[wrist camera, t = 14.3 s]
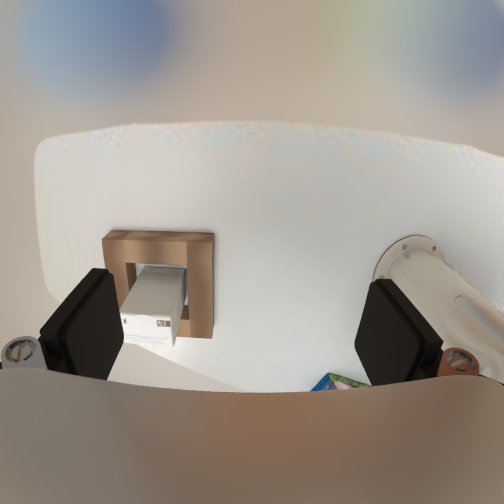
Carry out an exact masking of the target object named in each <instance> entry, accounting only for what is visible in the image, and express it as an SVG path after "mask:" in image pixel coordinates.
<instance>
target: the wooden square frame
mask: <svg viewBox="0 0 504 504" xmlns="http://www.w3.org/2000/svg"><path fill="white" fill-rule="evenodd" d="M102 246H103V254H104V262H105V269H108V270H109V272H110V273H112V274H113V275H114V281H115V287H116V293H117V299H118V305H119V309H120V308H121V306H122V304H123V302H124V301H125V299H126V297H127V295H128V294H129V292H130V290H131V289H132V287H133V285H134V283H135V282H136V280H137V279H136V270H135V263H146V264H167V265H187V280H188V302H189V306H185V305H184V307H183V311H182V315H181V318H180V323H179V327H178V331H177V337H192V338H211V339H212V335H213V326H214V233H193V232H161V231H123V230H111V231H110V232H109V233H108V234H107V235H106V236H105V237H104V238H103V239H102Z"/></svg>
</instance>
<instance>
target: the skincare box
mask: <svg viewBox="0 0 504 504" xmlns="http://www.w3.org/2000/svg"><path fill="white" fill-rule="evenodd" d="M185 299H186V270H185V269H173V268H154V267H144V269H143V270H142V272H141V274H140V275H139V277H138V278H137V280H136V282H135V283H134V285H133V287H132V289H131V290H130V292H129V294H128V295H127V297H126V299H125V301H124V302H123V304H122V306H121V308H120V309H119V311H120V316H121V321H122V326H123V331H124V343H134V344H144V345H156V346H168V347H173V346H174V344H175V340H176V336H177V331H178V327H179V323H180V318H181V315H182V311H183V307H184V303H185Z"/></svg>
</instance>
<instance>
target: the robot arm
mask: <svg viewBox="0 0 504 504" xmlns="http://www.w3.org/2000/svg"><path fill="white" fill-rule="evenodd" d="M40 334H41V336H40V337H39V339H38V340H37V339H36V338H34V337H30V336H22V337H18V338H15V339H13V340H11V341H10V342H8V343H7V344H6V345H5V346H4V348H3V350H2V353H1V360H2V362H0V504H504V314H503V313H502V312H501V311H500V310H499V309H497V308H496V307H495V306H494V305H493V304H492V303H491V302H490V301H489V300H487V299H486V298H485V297H484V296H483V295H482V294H481V293H480V292H478V291H477V290H476V289H475V288H474V287H473V286H472V285H470V284H469V283H468V282H467V281H466V280H464V279H463V278H462V277H461V273H460V271H454V270H452V269H451V268H450V267H449V266H447V265H446V264H445V263H444V257H443V254H442V251H441V249H440V248H439V246H438V245H437V244H436V243H435V242H433V241H432V240H430V239H429V238H426V237H423V236H410V237H407V238H404V239H402V240H400V241H398V242H397V243H395V244H394V245H393V246H392V247H390V248H389V249H388V250H387V251H386V253H385V254H384V255H383V257H382V258H381V260H380V261H379V263H378V265H377V267H376V270H375V274H374V280H373V282H372V283H371V284H370V287H369V291H368V295H367V299H366V302H365V306H364V310H363V314H362V317H361V321H360V325H359V328H358V332H357V335H356V338H355V350H356V352H357V354H358V356H359V358H360V361H361V363H362V365H363V367H364V369H365V372H366V374H367V376H368V378H369V380H370V383H371V385H372V386H371V387H362V388H352V389H340V390H327V391H311V392H283V393H239V392H211V391H193V390H181V389H170V388H160V387H150V386H142V385H134V384H127V383H120V382H113V381H107V378H108V376H109V373H110V371H111V369H112V367H113V364H114V362H115V360H116V358H117V355H118V353H119V351H120V349H121V347H122V344H123V342H124V331H123V326H122V321H121V316H120V311H119V305H118V299H117V293H116V287H115V281H114V275H113V274H112V273H110V272H109V270H108V269H100V268H93V269H91V270H90V272H89V273H88V274H87V275H86V276H85V277H84V278H83V279H82V280H81V282H80V283H79V284H78V285H77V286H76V287H75V288H74V290H73V291H72V292H71V293H70V294H69V295H68V297H67V298H66V299H65V300H64V301H63V302H62V304H61V305H60V306H59V307H58V308H57V310H56V311H55V312H54V313H53V315H52V316H51V317H50V318H49V320H48V321H47V322H46V323H45V325H44V326H43V327H42V328H41V329H40Z"/></svg>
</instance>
